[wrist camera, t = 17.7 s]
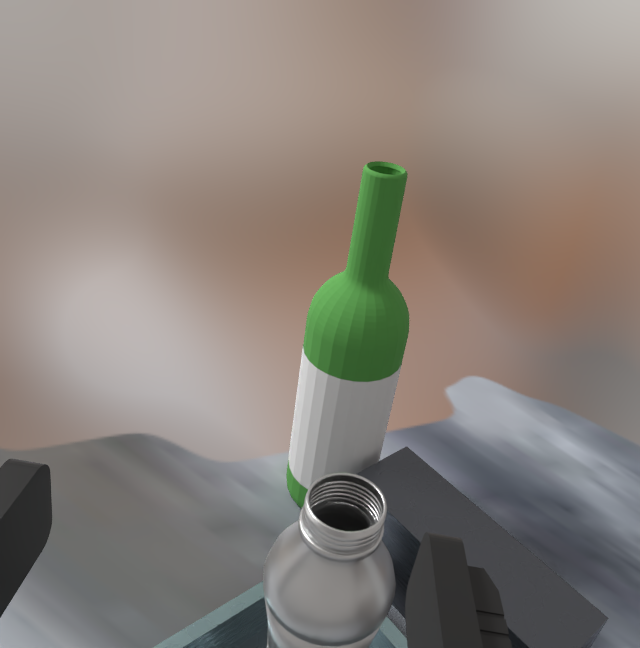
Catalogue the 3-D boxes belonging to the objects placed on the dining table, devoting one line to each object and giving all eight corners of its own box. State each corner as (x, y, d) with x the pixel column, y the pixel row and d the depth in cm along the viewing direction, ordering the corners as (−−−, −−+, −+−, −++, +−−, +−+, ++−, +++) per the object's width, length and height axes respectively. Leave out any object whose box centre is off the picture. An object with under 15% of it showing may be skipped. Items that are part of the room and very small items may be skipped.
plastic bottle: (363, 776, 36) (440, 561, 25) (247, 787, 35) (276, 567, 24) (345, 665, 41) (402, 449, 31) (245, 672, 40) (267, 449, 29)
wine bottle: (359, 536, 52) (438, 199, 36) (272, 509, 53) (311, 172, 37) (377, 472, 58) (451, 163, 42) (299, 449, 59) (342, 141, 43)
